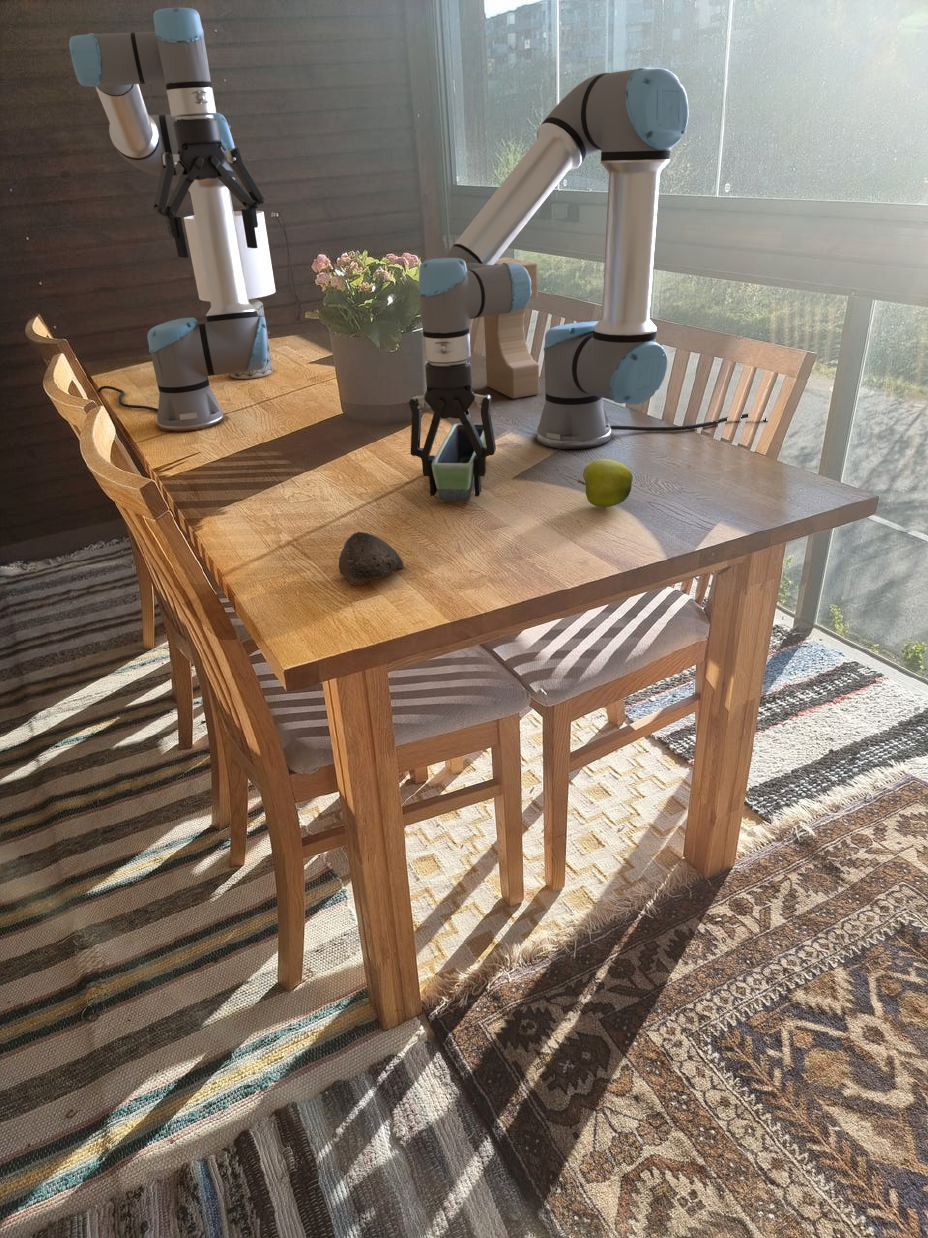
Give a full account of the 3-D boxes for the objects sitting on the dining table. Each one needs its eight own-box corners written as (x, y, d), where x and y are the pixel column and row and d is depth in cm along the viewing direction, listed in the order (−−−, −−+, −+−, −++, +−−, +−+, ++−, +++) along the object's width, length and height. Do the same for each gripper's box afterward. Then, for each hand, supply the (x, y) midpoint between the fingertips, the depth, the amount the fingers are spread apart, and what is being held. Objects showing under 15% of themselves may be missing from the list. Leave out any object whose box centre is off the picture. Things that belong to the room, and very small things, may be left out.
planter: (454, 458, 177) (453, 422, 174) (490, 458, 176) (489, 423, 173) (432, 504, 153) (430, 463, 150) (473, 504, 152) (472, 464, 149)
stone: (370, 582, 138) (319, 551, 133) (405, 543, 136) (354, 511, 130) (380, 619, 131) (327, 588, 125) (417, 579, 128) (364, 545, 123)
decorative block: (540, 394, 215) (538, 263, 201) (512, 399, 213) (508, 266, 198) (512, 381, 227) (509, 256, 213) (486, 386, 225) (480, 260, 210)
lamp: (301, 366, 256) (278, 209, 236) (258, 384, 240) (230, 217, 220) (244, 363, 264) (217, 211, 244) (199, 380, 248) (166, 219, 228)
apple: (575, 498, 154) (576, 454, 151) (628, 496, 154) (629, 451, 150) (579, 515, 148) (579, 469, 144) (634, 513, 147) (636, 467, 143)
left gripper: (131, 120, 141) (160, 262, 151) (270, 113, 154) (289, 244, 164) (114, 122, 146) (144, 259, 156) (251, 116, 159) (270, 242, 170)
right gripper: (382, 367, 142) (395, 501, 153) (506, 364, 139) (510, 501, 150) (392, 357, 149) (404, 485, 160) (511, 354, 146) (514, 485, 157)
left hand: (218, 252), depth 160 cm, fingers open, 13 cm apart
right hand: (455, 493), depth 155 cm, fingers closed on planter, 7 cm apart
